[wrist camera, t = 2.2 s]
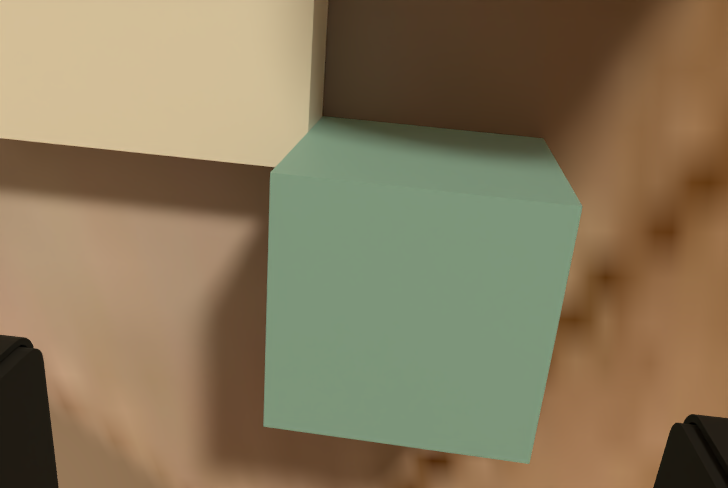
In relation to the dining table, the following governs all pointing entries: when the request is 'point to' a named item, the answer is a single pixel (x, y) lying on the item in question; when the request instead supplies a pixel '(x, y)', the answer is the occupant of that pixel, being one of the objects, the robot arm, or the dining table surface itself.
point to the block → (415, 285)
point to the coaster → (164, 75)
